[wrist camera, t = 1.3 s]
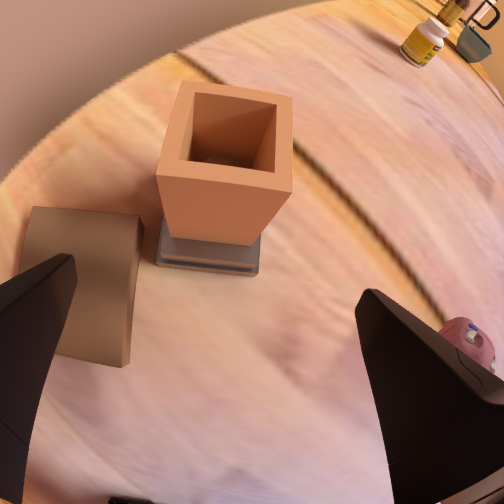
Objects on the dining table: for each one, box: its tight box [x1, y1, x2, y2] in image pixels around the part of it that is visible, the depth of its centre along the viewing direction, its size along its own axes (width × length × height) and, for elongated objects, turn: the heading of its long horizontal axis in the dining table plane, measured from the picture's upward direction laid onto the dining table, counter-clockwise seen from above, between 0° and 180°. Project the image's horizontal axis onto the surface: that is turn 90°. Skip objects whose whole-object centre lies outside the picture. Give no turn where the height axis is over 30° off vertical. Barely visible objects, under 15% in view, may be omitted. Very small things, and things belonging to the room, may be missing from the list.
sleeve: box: [156, 80, 293, 246], centre depth 14 cm, size 5×5×8 cm
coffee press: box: [460, 0, 500, 30], centre depth 51 cm, size 17×16×30 cm
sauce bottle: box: [437, 0, 470, 27], centre depth 43 cm, size 7×6×20 cm
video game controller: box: [437, 317, 496, 373], centre depth 21 cm, size 10×5×7 cm, turn 51°
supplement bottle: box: [399, 17, 449, 68], centre depth 31 cm, size 5×5×10 cm
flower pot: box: [456, 24, 492, 63], centre depth 42 cm, size 9×9×9 cm
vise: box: [156, 155, 261, 277], centre depth 18 cm, size 8×7×8 cm
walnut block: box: [18, 206, 145, 368], centre depth 17 cm, size 10×9×2 cm
